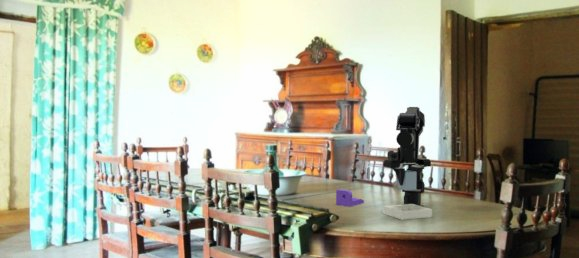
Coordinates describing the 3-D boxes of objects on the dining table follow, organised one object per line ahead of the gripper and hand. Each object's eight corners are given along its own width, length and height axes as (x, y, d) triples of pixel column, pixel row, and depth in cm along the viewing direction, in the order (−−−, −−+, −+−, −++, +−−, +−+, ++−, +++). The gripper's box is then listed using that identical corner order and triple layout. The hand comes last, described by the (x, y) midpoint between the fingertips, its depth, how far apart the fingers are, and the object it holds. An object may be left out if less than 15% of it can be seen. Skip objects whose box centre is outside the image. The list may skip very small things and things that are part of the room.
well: (412, 211, 189) (412, 203, 189) (431, 217, 178) (432, 209, 178) (383, 213, 184) (383, 206, 184) (401, 219, 173) (401, 211, 172)
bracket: (349, 207, 198) (349, 191, 197) (336, 205, 202) (336, 189, 202) (363, 203, 207) (364, 188, 207) (350, 201, 211) (350, 186, 211)
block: (408, 187, 184) (408, 170, 184) (416, 189, 179) (416, 171, 179) (397, 188, 182) (398, 170, 182) (405, 190, 177) (405, 172, 177)
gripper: (414, 143, 191) (413, 181, 191) (375, 144, 184) (375, 183, 184) (432, 145, 181) (431, 185, 181) (391, 146, 174) (391, 187, 174)
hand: (406, 185), depth 181 cm, fingers closed on block, 5 cm apart
